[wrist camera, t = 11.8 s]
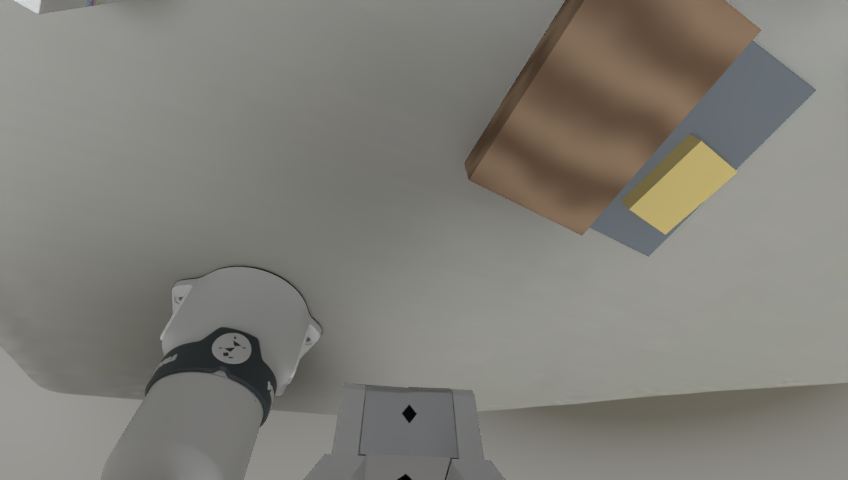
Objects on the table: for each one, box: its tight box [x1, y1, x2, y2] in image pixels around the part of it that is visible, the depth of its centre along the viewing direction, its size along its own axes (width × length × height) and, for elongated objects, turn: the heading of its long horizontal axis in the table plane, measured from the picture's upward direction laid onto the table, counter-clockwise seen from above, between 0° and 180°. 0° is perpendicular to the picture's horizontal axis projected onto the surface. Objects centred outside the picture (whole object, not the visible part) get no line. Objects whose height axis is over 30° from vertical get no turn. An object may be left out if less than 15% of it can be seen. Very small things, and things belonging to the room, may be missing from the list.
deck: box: [465, 0, 761, 235], centre depth 38 cm, size 22×14×4 cm, turn 152°
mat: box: [590, 41, 816, 256], centre depth 43 cm, size 22×11×1 cm, turn 152°
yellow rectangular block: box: [621, 134, 737, 235], centre depth 44 cm, size 9×6×2 cm, turn 146°
